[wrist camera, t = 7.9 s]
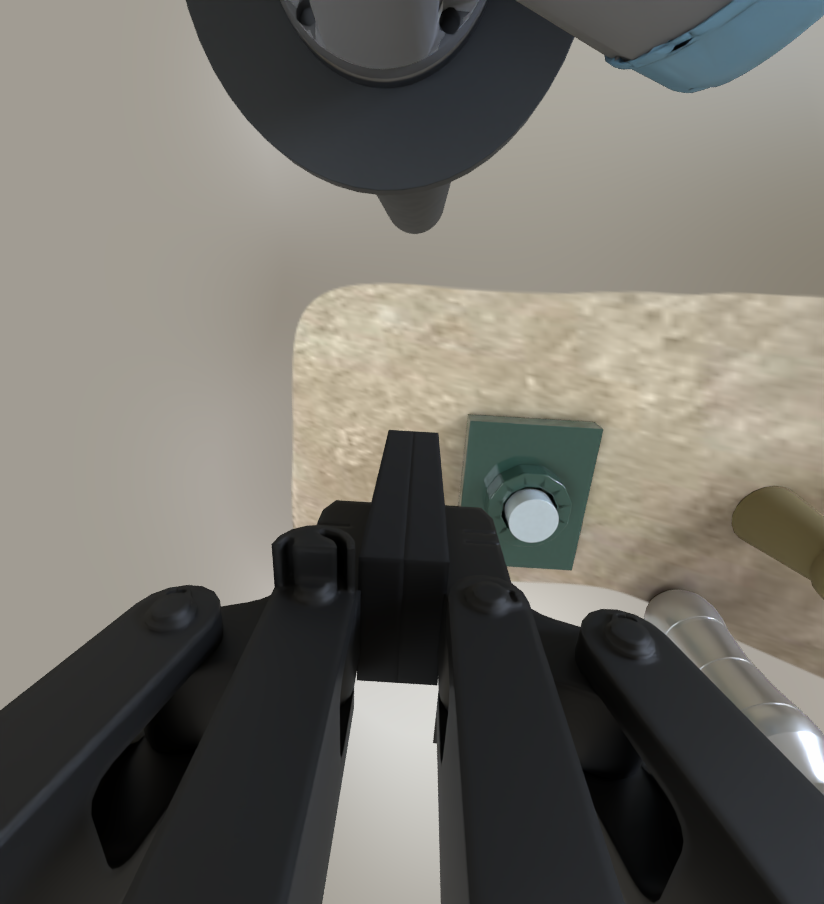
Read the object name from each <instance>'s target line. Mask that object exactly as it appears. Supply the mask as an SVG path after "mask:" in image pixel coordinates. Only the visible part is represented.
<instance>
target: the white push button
mask: <svg viewBox="0 0 824 904" xmlns="http://www.w3.org/2000/svg"><path fill="white" fill-rule="evenodd" d="M505 517H506V520H507V523H508V525H509V528H510V531H511V533H512V534H513V535H514V536H515V537H516V538H518V539H519V540H521V541H524V542H529V543H534V542H540V541H543V540H545V539H547V538H548V537H550V536H551V535H552V534H553V533H554V531H555V530H556V528H557V526H558V522H559V516H558V512H557V510H556V508H555V507H554V505H553V503H552V501H551V500H550V498H549V497H548V495H547V494H546V493H544V492H543V491H541V490H538V489H533V488H527V489H522V490H519V491H517V492H516V493H514V494H513V495H512V496H511V497H510V498H509V499H508V501H507V502H506V505H505Z"/></svg>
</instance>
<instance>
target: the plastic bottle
mask: <svg viewBox="0 0 824 904" xmlns="http://www.w3.org/2000/svg"><path fill="white" fill-rule="evenodd" d="M644 620H646V621H648V622H650V623H652V624H653V625H654V626H656V627H657V628H658V629H659V630H661V631H662V632H663V633H664V634H666V635H667V636H668V637H669V638H670V639H671V640H672V641H673V642H674V643H675V645H676V646H677V647H678V648H679V649H680V650H681V651H682V652H683V653H684V654H685V655H686V656H687V657H688V658H689V659H690V660H691V661H692V662H693V663H694V664H695V665H696V666H697V667H698V668H699V669H700V670H701V671H702V672H703V673H704V674H705V675H706V676H707V677H708V678H709V679H710V680H711V681H712V682H713V683H714V684H715V685H716V686H717V687H718V688H719V689H720V690H721V691H722V692H723V693H724V694H725V695H726V696H727V697H728V698H729V699H730V700H731V701H732V702H733V703H734V705H735V706H736V707H737V708H738V709H739V710H740V711H741V712H742V713H743V714H744V715H745V716H746V717H747V718H748V719H749V720H750V721H751V722H752V723H753V724H754V725H755V726H756V727H757V728H758V729H759V730H760V731H761V732H762V733H763V734H764V735H765V736H766V737H767V738H768V739H769V740H770V741H771V742H772V743H773V744H774V745H775V746H776V747H777V748H778V749H779V750H780V751H781V752H782V753H783V754H784V755H785V756H786V757H787V758H788V759H789V760H790V761H791V762H792V763H793V765H794V766H795V767H796V768H797V769H798V770H799V771H800V772H801V773H802V774H803V775H804V776H805V777H806V778H807V779H808V780H809V781H810V782H811V783H812V784H813V785H814V786H815V787H816V788H817V789H818V790H819V791H820V792H821V793H822V794H823V795H824V735H823V733H822V731H821V730H820V729H819V728H818V727H817V726H816V725H815V724H814V723H813V722H812V720H810V718H809V717H808V716H806V715H805V714H804V713H803V712H802V711H801V710H800V709H799V708H798V707H797V706H796V705H795V704H793V703H792V702H791V701H790V700H789V699H788V698H787V697H786V696H785V695H784V694H783V693H781V692H780V691H779V690H778V689H777V688H776V687H775V686H774V685H773V684H772V683H771V682H770V681H769V680H768V679H767V678H766V677H765V676H764V675H763V673H762V672H761V671H760V670H759V669H757V667H756V666H755V665H754V664H753V663H752V662H751V661H750V660H749V659H748V657H747V656H746V654H745V653H744V652H743V650H742V649H741V648H740V646H739V645H738V644H737V642H736V641H735V639H734V638H733V636H732V635H731V634H730V632H729V631H728V628H727V626H726V624H725V622H724V621H723V619H722V617H721V616H720V614H719V613H718V611H717V610H716V609H715V608H714V606H713V605H711V604H710V603H709V602H708V601H706V600H705V599H704V598H703V597H701V596H700V595H698V594H696V593H694V592H690V591H685V590H678V589H676V590H669V591H665V592H663V593H660V594H659V595H657V596H655V597H654V598H653V599H652V600H651V601H650V602H649V604H648V606H647V608H646V612H645V616H644Z"/></svg>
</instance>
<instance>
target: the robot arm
mask: <svg viewBox="0 0 824 904" xmlns="http://www.w3.org/2000/svg"><path fill="white" fill-rule="evenodd" d="M516 1H517V2H519V3H521V4H522V5H524V6H526V7H527V8H529V9H530V10H532V11H534V12H535V13H537V14H539V15H540V16H542V17H543V18H545V19H547V20H548V21H550V22H552V23H553V24H555V25H556V26H558V27H560V28H561V29H563V30H565V31H566V32H568V33H569V34H571V35H573V36H574V37H576V38H578V39H579V40H581V41H582V42H584V43H586V44H587V45H589V46H591V47H592V48H594V49H595V50H597V51H599V52H601V53H602V54H604V55H605V61H606V62H607V63H609V64H610V65H612V66H613V67H615V68H618V69H632V70H634V71H636V72H638V73H640V74H642V75H644V76H646V77H648V78H650V79H652V80H653V81H655V82H657V83H659V84H661V85H663V86H665V87H667V88H668V89H671V90H673V91H677V92H683V93H693V92H697V91H701V90H704V89H707V88H710V87H717V86H720V85H723V84H725V83H728V82H730V81H732V80H734V79H735V78H738V77H739V76H741V75H743V74H745V73H747V72H748V71H750V70H752V69H753V68H755V67H756V66H758V65H760V64H761V63H762V62H764V61H765V60H767V59H769V58H770V57H771V56H773V55H774V54H776V53H777V52H778V51H780V50H781V49H783V48H784V47H785V46H786V45H788V44H789V43H790V42H792V41H793V40H794V39H795V38H797V37H798V36H799V35H801V34H802V33H803V32H804V31H805V30H806V29H808V28H809V27H810V26H811V25H813V24H814V23H815V22H816V21H818V20H819V19H820V18H821V17H822V16H823V15H824V0H516ZM280 2H281V4H282V6H283V8H284V10H285V12H286V14H287V16H288V18H289V20H290V22H291V24H292V25H293V27H294V29H295V30H296V32H297V34H298V35H299V37H300V38H301V40H302V41H303V42H304V44H305V45H306V46H307V48H308V49H309V50H310V51H311V52H312V53H313V55H314V56H315V57H316V58H317V59H319V60H320V61H321V62H322V63H323V64H324V65H325V66H327V67H328V68H329V69H330V70H332V71H333V72H335V73H336V74H338V75H339V76H341V77H343V78H345V79H347V80H349V81H352V82H354V83H357V84H360V85H364V86H368V87H374V88H396V87H403V86H407V85H411V84H413V83H416V82H419V81H421V80H423V79H425V78H427V77H429V76H431V75H432V74H434V73H435V72H437V71H438V70H440V69H441V68H442V67H444V66H445V65H446V64H447V63H448V62H450V61H451V60H452V59H453V58H454V57H455V56H456V55H457V53H458V52H459V51H460V50H461V49H462V47H463V46H464V45H465V44H466V42H467V41H468V39H469V38H470V36H471V35H472V33H473V32H474V30H475V28H476V26H477V25H478V23H479V21H480V19H481V16H482V14H483V12H484V10H485V7H486V5H487V2H488V0H280ZM272 556H273V568H274V569H273V570H274V584H275V588H274V590H273V592H272V594H271V595H270V596H268V597H265V598H263V599H260V600H255V601H252V602H248V603H240V604H234V605H228V606H223V607H221V606H220V600H219V598H218V597H217V596H216V594H215V592H214V591H212V590H209V589H207V588H205V587H203V586H192V585H185V586H179V587H172V588H167V589H165V590H162V591H159V592H156V593H154V594H151V595H150V596H148V597H146V598H145V599H143V600H141V601H140V602H138V603H136V604H135V605H134V606H133V607H131V608H130V609H129V610H128V611H126V612H125V613H124V614H122V615H121V616H120V617H119V618H117V619H116V620H115V621H113V622H112V623H111V624H110V625H108V626H107V627H106V628H105V629H103V630H102V631H101V632H100V633H98V634H97V635H96V636H94V637H93V638H92V639H91V640H89V641H88V642H87V643H86V644H84V645H83V646H82V647H80V648H79V649H78V650H77V651H75V652H74V653H73V654H71V655H70V656H69V657H68V658H66V659H65V660H64V661H63V662H61V663H60V664H59V665H58V666H56V667H55V668H54V669H53V670H51V671H50V672H49V673H47V674H46V675H45V676H44V677H42V678H41V679H40V680H39V681H37V682H36V683H35V684H33V685H32V686H31V687H30V688H28V689H27V690H26V691H25V692H23V693H22V694H21V695H19V696H18V697H17V698H16V699H14V700H13V701H12V702H11V703H9V704H8V705H7V706H5V707H4V708H3V709H2V710H0V904H322V900H323V894H324V888H325V882H326V876H327V869H328V863H329V857H330V851H331V845H332V838H333V832H334V827H335V820H336V814H337V808H338V802H339V795H340V790H341V783H342V777H343V771H344V765H345V758H346V753H347V746H348V740H349V734H350V728H351V722H352V716H353V709H354V683H355V678H356V672H357V680H362V681H377V682H393V683H409V684H425V685H437V682H438V685H439V693H438V702H437V712H436V721H435V730H434V740H433V743H437V760H438V802H439V844H440V882H441V883H440V886H441V904H824V795H823V794H822V793H821V792H820V791H819V790H818V789H817V788H816V787H815V786H814V785H813V784H812V783H811V782H810V781H809V780H808V779H807V778H806V777H805V776H804V775H803V774H802V773H801V772H800V771H799V770H798V769H797V768H796V767H795V766H794V765H793V763H792V762H791V761H790V760H789V759H788V758H787V757H786V756H785V755H784V754H783V753H782V752H781V751H780V750H779V749H778V748H777V747H776V746H775V745H774V744H773V743H772V742H771V741H770V740H769V739H768V738H767V737H766V736H765V735H764V734H763V733H762V732H761V731H760V730H759V729H758V728H757V727H756V726H755V725H754V724H753V723H752V722H751V721H750V720H749V719H748V718H747V717H746V716H745V715H744V714H743V713H742V712H741V711H740V710H739V709H738V708H737V707H736V706H735V705H734V703H733V702H732V701H731V700H730V699H729V698H728V697H727V696H726V695H725V694H724V693H723V692H722V691H721V690H720V689H719V688H718V687H717V686H716V685H715V684H714V683H713V682H712V681H711V680H710V679H709V678H708V677H707V676H706V675H705V674H704V673H703V672H702V671H701V670H700V669H699V668H698V667H697V666H696V665H695V664H694V663H693V662H692V661H691V660H690V659H689V658H688V657H687V656H686V655H685V654H684V653H683V652H682V651H681V650H680V649H679V648H678V647H677V646H676V645H675V643H674V642H673V641H672V640H671V639H670V638H669V637H668V636H667V635H666V634H664V633H663V632H662V631H661V630H659V629H658V628H657V627H656V626H654V625H653V624H652V623H650V622H648V621H646V620H644V619H642V618H640V617H638V616H636V615H634V614H630V613H627V612H623V611H620V610H611V609H600V610H597V611H594V612H591V613H589V614H588V615H587V616H586V617H585V618H584V619H583V620H582V624H581V627H578V626H575V625H572V624H568V623H565V622H562V621H558V620H555V619H552V618H549V617H547V616H544V615H542V614H540V613H538V612H536V611H534V610H533V609H531V607H530V604H529V602H528V600H527V598H526V597H525V595H524V593H523V592H522V591H521V590H519V589H518V588H517V587H516V586H514V585H513V584H512V583H511V580H510V577H509V573H508V570H507V566H506V563H505V559H504V556H503V552H502V549H501V545H500V542H499V538H498V535H497V531H496V528H495V524H494V521H493V519H492V518H491V517H490V516H489V515H488V514H487V513H486V512H485V511H484V510H483V509H482V508H478V507H462V506H445V503H444V492H443V481H442V470H441V458H440V447H439V436H438V433H430V432H414V431H397V430H389V431H388V436H387V440H386V444H385V448H384V452H383V456H382V461H381V465H380V469H379V473H378V477H377V481H376V486H375V490H374V494H373V498H372V502H355V501H339V500H336V501H334V502H333V503H332V504H330V505H329V506H328V507H326V508H325V509H324V510H323V511H322V513H321V516H320V518H319V520H318V523H317V525H312V526H304V527H300V528H296V529H292V530H290V531H288V532H286V533H284V534H282V535H280V536H279V537H278V538H277V539H276V540H275V541H274V542H273V543H272Z"/></svg>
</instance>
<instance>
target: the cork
mask: <svg viewBox="0 0 824 904" xmlns="http://www.w3.org/2000/svg"><path fill="white" fill-rule="evenodd" d="M732 527H733V530H734V532H735V534H736V535H737V536H738V537H739V538H740V539H742V540H744V541H745V542H747V543H749V544H750V545H752V546H754V547H755V548H757V549H759V550H760V551H762V552H764V553H766V554H767V555H769V556H771V557H772V558H774V559H776V560H777V561H779V562H781V563H782V564H784V565H786V566H787V567H789V568H791V569H792V570H794V571H796V572H798V573H799V574H801V575H803V576H804V577H806V578H808V579H809V580H811V582H812V586H813V587H814V589H815V590H816V592H817V593H818V594H819V595H820V596H821V597H822V599H824V516H823V515H821V514H820V513H819V512H818V511H816V510H815V509H814V508H813V507H812V506H810V505H809V504H808V503H807V502H805V501H804V500H803V499H802V498H800V497H799V496H798V495H797V494H795V493H794V492H793V491H791V490H789V489H787V488H785V487H778V486H772V487H764V488H762V489H759V490H757V491H754V492H752V493H751V494H749V495H748V496H747V497H745V498H744V499H743V500H742V501H741V502H740V503H739V505H738V506H737V507H736V509H735V511H734V513H733V516H732Z"/></svg>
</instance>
